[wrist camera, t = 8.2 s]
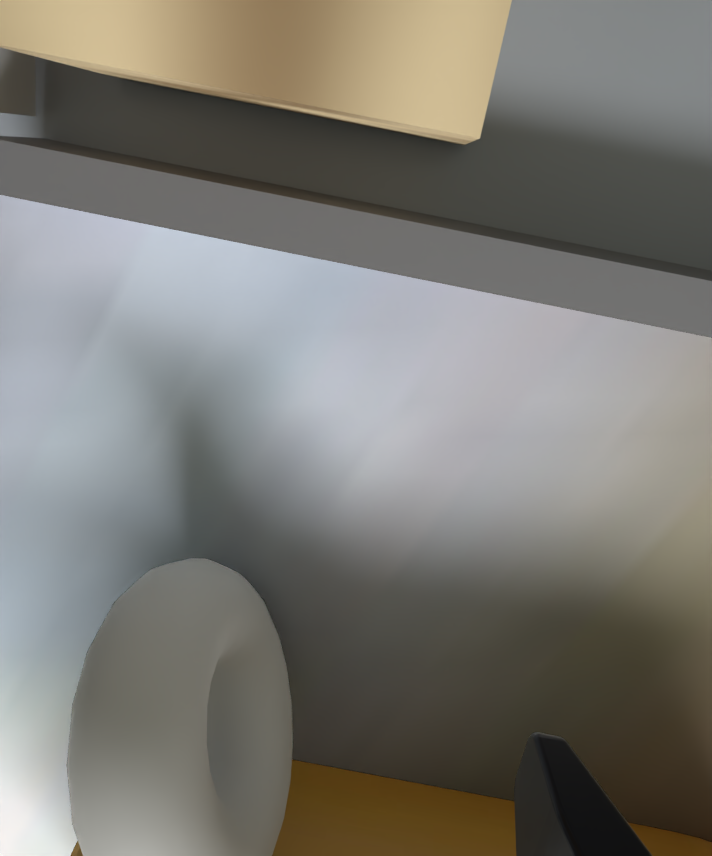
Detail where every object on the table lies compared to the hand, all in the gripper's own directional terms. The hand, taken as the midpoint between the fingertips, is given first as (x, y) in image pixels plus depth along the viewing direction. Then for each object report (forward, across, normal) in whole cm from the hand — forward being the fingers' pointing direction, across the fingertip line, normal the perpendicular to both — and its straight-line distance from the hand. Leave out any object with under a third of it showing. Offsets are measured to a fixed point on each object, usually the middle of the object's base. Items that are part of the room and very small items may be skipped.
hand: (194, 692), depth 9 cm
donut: (+13, +2, +9) cm, 16 cm away
